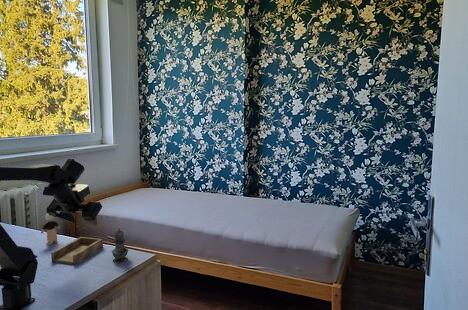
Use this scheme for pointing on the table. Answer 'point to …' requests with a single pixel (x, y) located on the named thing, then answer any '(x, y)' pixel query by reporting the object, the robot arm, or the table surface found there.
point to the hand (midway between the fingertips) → (85, 223)
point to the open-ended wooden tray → (77, 250)
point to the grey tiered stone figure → (119, 248)
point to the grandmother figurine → (50, 229)
